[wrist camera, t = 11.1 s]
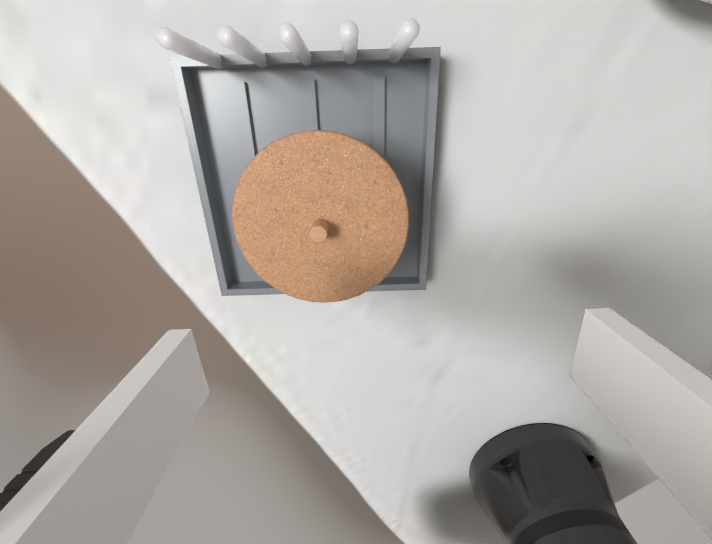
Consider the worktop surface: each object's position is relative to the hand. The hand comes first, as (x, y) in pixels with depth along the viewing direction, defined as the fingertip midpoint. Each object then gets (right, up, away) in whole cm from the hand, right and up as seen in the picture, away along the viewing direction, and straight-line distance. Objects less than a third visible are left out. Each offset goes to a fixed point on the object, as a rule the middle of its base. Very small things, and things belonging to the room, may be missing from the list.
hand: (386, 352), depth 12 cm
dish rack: (-4, +10, +17) cm, 20 cm away
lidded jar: (-3, +9, +16) cm, 19 cm away
